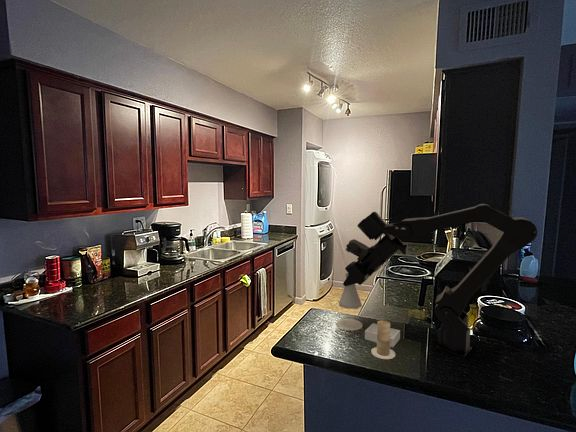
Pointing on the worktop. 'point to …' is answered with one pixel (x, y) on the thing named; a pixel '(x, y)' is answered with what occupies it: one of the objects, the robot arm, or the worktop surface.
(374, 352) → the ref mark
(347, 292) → the flask
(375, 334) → the grey cover
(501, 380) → the worktop surface
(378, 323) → the birch peg
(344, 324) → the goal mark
